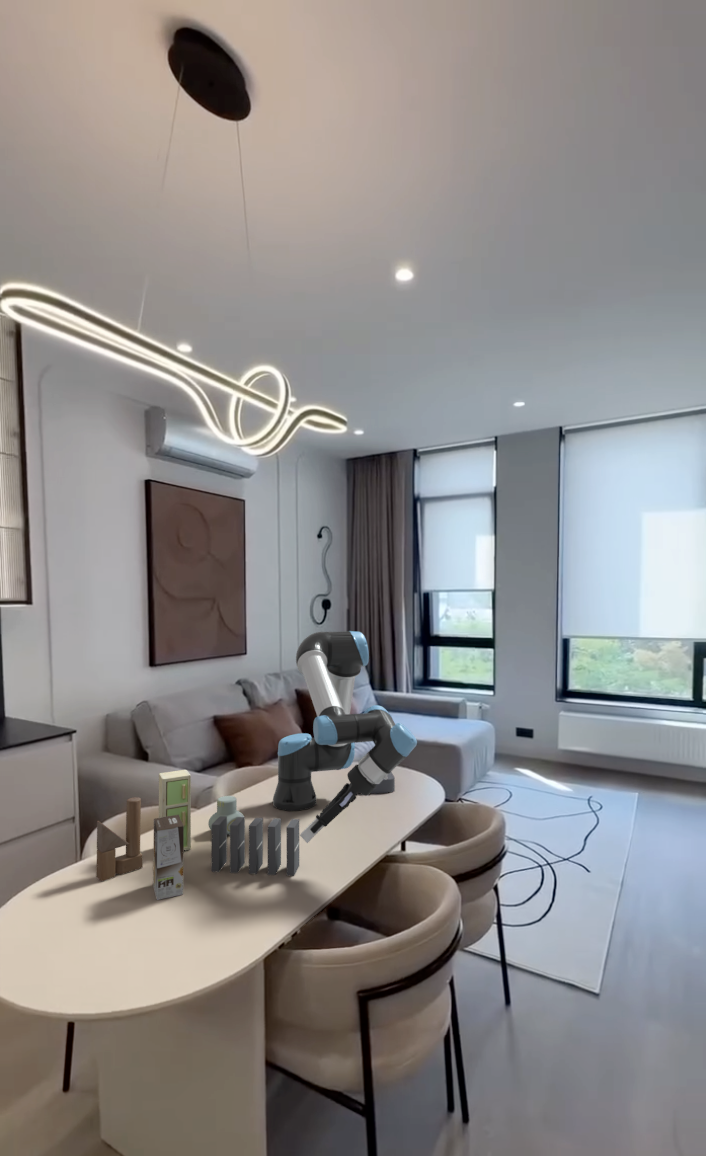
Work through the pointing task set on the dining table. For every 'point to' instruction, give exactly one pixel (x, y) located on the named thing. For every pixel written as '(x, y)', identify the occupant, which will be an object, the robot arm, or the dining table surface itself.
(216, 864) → the domino
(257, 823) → the domino
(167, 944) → the dining table surface
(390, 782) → the streaming box
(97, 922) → the dining table surface
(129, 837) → the brown angular blocky piece
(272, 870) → the domino
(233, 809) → the air freshener
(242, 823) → the domino
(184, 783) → the toy refrigerator
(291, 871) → the domino
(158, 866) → the coffee box
